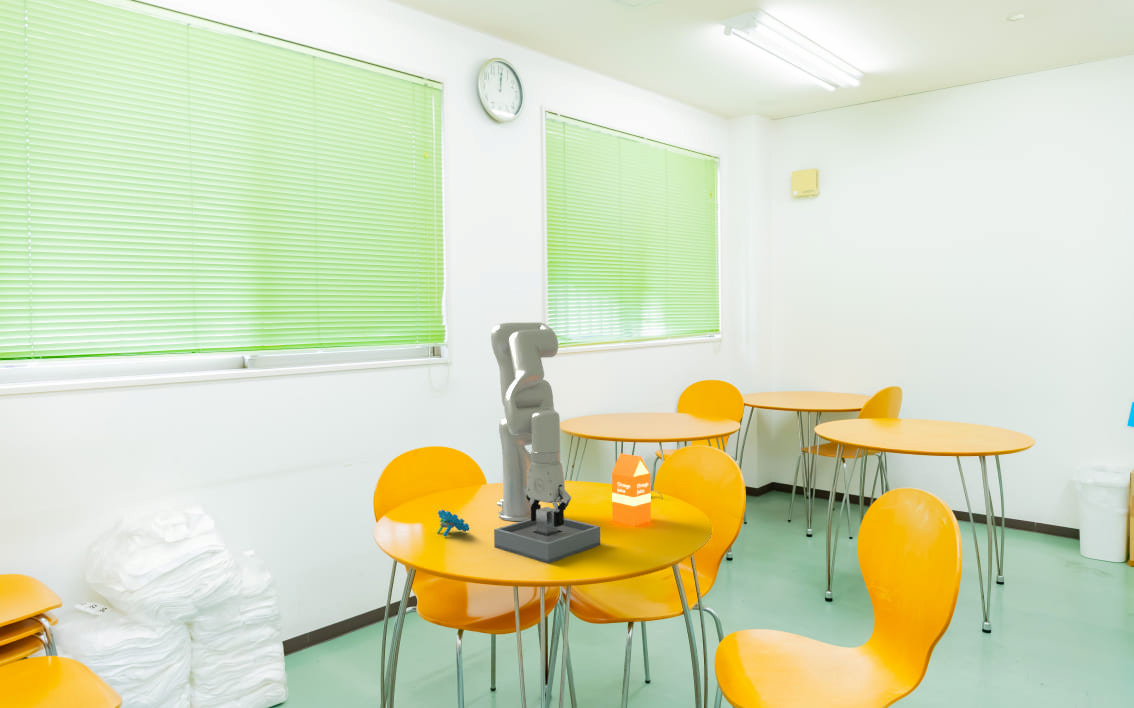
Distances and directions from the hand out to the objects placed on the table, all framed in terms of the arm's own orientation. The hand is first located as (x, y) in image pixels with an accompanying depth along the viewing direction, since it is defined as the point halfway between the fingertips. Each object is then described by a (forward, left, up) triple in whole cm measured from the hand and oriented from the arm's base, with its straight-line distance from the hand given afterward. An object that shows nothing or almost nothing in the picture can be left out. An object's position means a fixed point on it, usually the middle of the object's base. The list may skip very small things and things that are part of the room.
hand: (547, 522), depth 189 cm
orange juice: (+2, +34, -7) cm, 35 cm away
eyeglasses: (-11, +56, -7) cm, 57 cm away
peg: (0, 0, -5) cm, 5 cm away
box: (0, 0, -6) cm, 6 cm away
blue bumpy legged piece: (-27, -8, -7) cm, 29 cm away
